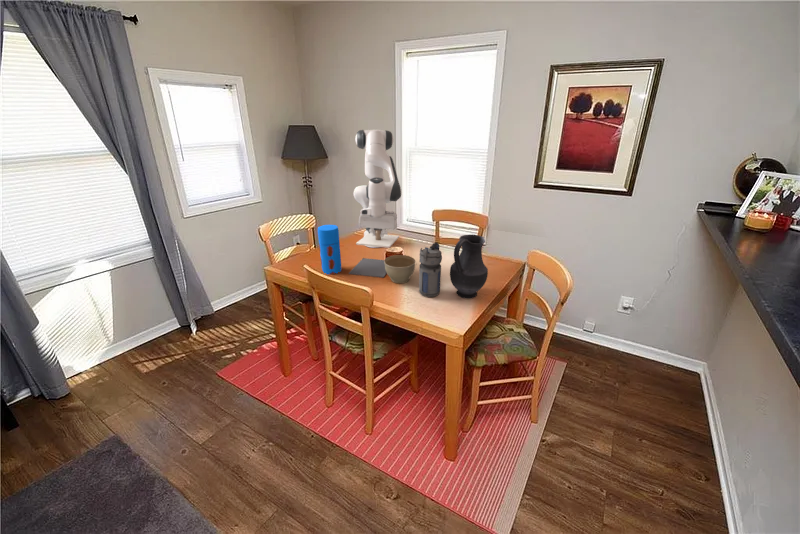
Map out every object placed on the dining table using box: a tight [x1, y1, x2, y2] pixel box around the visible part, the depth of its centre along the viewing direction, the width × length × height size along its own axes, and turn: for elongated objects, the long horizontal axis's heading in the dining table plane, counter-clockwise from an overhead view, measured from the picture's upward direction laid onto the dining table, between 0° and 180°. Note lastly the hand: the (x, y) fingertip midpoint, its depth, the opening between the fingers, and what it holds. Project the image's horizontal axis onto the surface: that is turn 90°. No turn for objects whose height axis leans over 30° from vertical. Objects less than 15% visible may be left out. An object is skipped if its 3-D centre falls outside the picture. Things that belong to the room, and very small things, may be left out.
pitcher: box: [449, 234, 489, 300], centre depth 159 cm, size 17×21×30 cm
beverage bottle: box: [418, 241, 443, 298], centre depth 163 cm, size 10×13×25 cm
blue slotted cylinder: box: [317, 224, 342, 275], centre depth 188 cm, size 11×11×25 cm
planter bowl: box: [383, 254, 416, 284], centre depth 179 cm, size 16×16×11 cm
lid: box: [355, 229, 400, 249], centre depth 183 cm, size 18×18×6 cm
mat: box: [348, 257, 388, 279], centre depth 196 cm, size 22×20×1 cm
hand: (378, 236), depth 183 cm, fingers closed on lid, 3 cm apart
